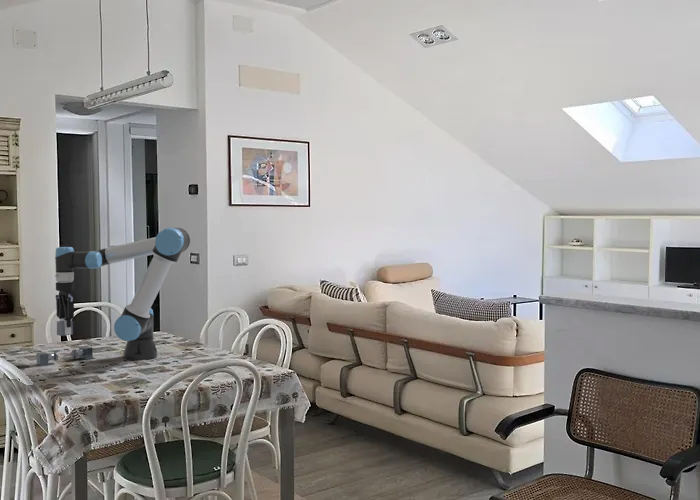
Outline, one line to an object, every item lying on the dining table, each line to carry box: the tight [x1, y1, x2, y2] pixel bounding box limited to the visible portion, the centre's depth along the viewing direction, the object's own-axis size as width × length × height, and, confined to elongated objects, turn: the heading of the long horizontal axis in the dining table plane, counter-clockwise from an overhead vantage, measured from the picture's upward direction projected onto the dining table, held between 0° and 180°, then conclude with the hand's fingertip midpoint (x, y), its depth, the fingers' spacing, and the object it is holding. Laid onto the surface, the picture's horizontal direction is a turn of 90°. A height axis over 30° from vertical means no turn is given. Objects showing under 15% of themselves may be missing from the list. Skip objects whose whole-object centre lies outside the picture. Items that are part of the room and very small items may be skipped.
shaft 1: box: [35, 351, 59, 367], centre depth 316 cm, size 8×5×5 cm, turn 130°
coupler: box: [56, 320, 74, 337], centre depth 321 cm, size 6×4×6 cm
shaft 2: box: [71, 346, 94, 360], centre depth 328 cm, size 8×5×5 cm, turn 146°
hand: (65, 333), depth 321 cm, fingers closed on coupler, 4 cm apart
